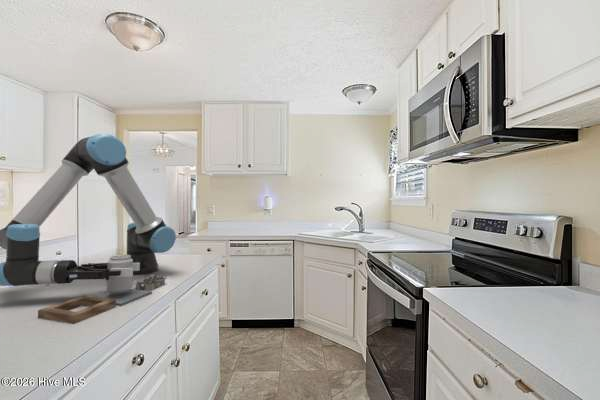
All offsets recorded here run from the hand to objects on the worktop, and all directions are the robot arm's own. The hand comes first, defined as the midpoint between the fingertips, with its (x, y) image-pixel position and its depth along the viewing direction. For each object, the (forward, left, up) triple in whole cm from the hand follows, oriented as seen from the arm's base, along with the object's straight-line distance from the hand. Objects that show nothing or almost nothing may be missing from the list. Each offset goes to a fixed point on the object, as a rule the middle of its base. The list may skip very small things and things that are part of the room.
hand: (135, 269), depth 100 cm
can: (+2, -4, -7) cm, 9 cm away
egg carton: (-11, -4, -10) cm, 15 cm away
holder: (+16, -4, -9) cm, 19 cm away
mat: (+2, -4, -9) cm, 11 cm away
